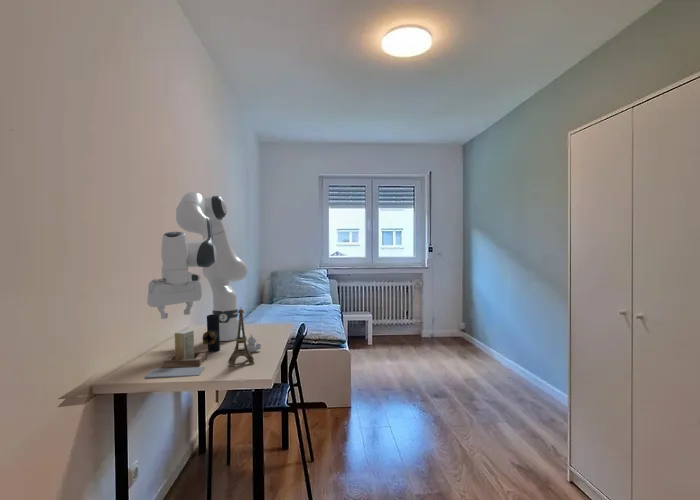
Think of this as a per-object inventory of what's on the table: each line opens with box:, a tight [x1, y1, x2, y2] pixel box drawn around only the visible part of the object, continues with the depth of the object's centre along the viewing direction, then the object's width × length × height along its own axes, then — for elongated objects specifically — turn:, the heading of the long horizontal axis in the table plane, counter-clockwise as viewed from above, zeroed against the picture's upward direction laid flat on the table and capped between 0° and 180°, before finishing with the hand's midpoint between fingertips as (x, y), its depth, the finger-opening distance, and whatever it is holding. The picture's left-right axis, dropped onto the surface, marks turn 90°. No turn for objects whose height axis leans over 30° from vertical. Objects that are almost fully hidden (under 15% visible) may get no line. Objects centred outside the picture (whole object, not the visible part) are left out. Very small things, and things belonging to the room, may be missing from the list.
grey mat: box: [144, 366, 206, 379], centre depth 160 cm, size 10×18×1 cm, turn 97°
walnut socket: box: [162, 351, 207, 369], centre depth 173 cm, size 13×13×2 cm
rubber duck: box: [246, 334, 262, 354], centre depth 189 cm, size 5×7×8 cm
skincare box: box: [174, 329, 195, 360], centre depth 173 cm, size 6×4×12 cm
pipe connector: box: [202, 314, 221, 353], centre depth 189 cm, size 12×5×15 cm, turn 4°
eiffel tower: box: [227, 308, 255, 368], centre depth 171 cm, size 11×11×25 cm
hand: (176, 316), depth 159 cm, fingers open, 8 cm apart
